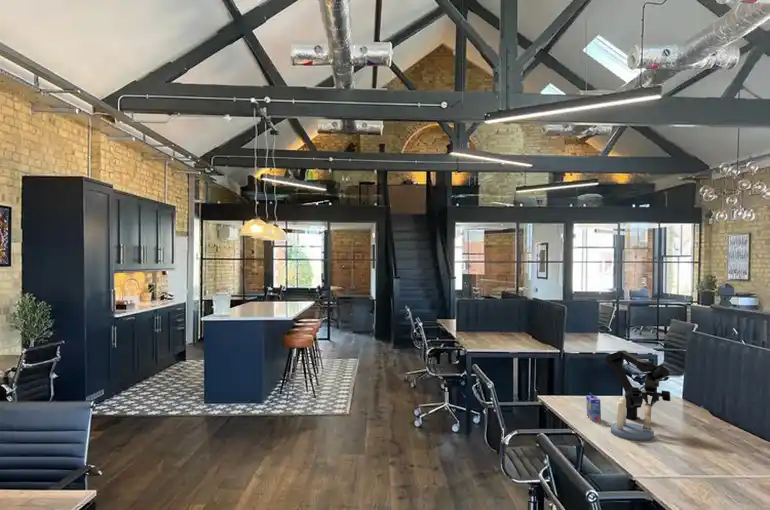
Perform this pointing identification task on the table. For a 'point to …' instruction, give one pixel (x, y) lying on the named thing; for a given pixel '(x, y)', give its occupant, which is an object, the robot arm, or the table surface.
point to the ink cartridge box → (593, 408)
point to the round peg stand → (629, 426)
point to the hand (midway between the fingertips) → (649, 407)
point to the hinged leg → (647, 417)
